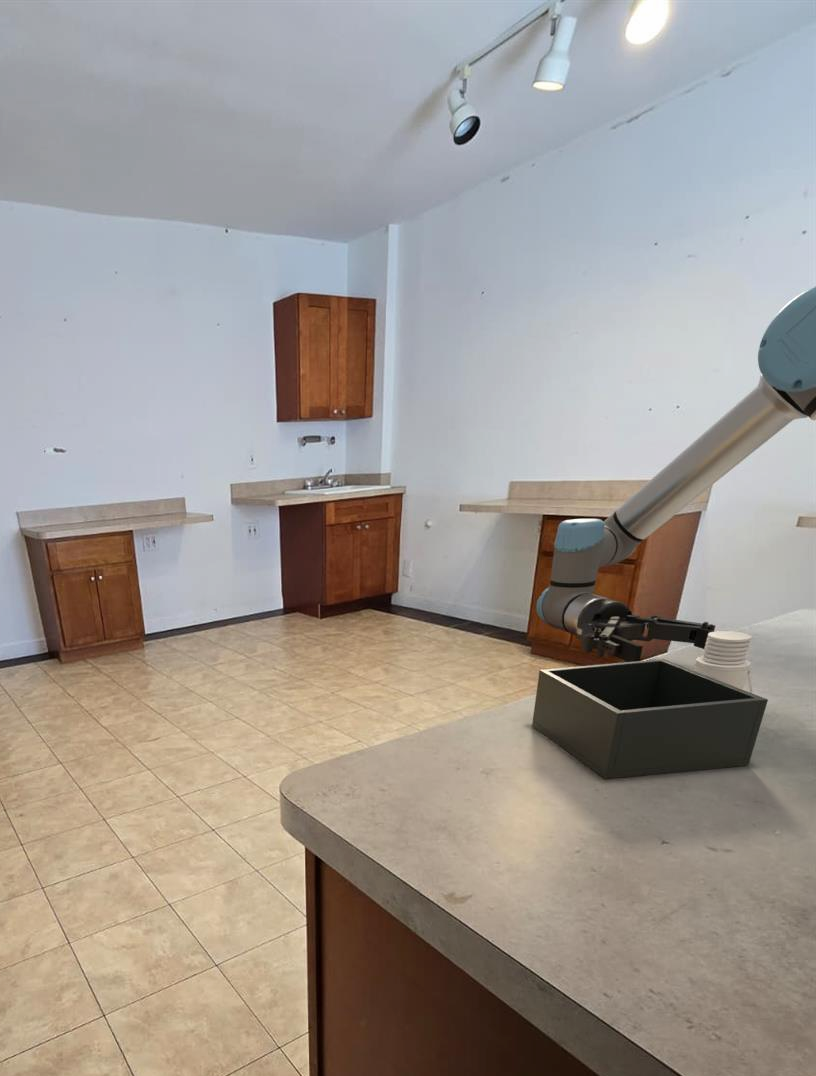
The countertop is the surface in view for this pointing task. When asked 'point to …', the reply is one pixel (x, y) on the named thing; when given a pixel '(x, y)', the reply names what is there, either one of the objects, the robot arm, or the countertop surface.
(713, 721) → the dark grey open box
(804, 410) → the robot arm
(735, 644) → the downlight
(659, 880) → the countertop surface
